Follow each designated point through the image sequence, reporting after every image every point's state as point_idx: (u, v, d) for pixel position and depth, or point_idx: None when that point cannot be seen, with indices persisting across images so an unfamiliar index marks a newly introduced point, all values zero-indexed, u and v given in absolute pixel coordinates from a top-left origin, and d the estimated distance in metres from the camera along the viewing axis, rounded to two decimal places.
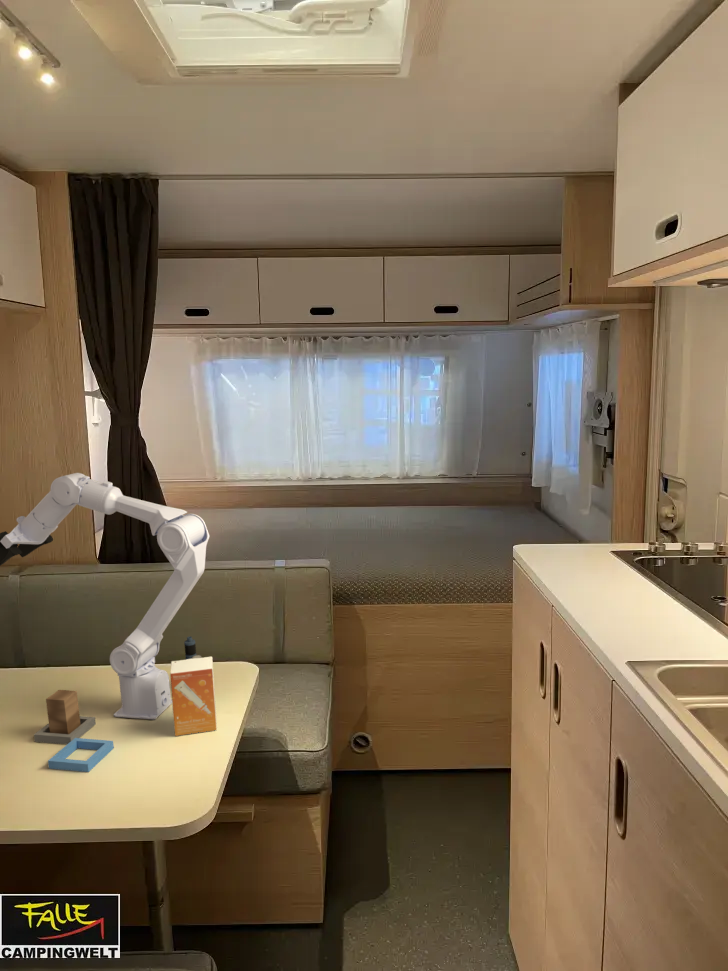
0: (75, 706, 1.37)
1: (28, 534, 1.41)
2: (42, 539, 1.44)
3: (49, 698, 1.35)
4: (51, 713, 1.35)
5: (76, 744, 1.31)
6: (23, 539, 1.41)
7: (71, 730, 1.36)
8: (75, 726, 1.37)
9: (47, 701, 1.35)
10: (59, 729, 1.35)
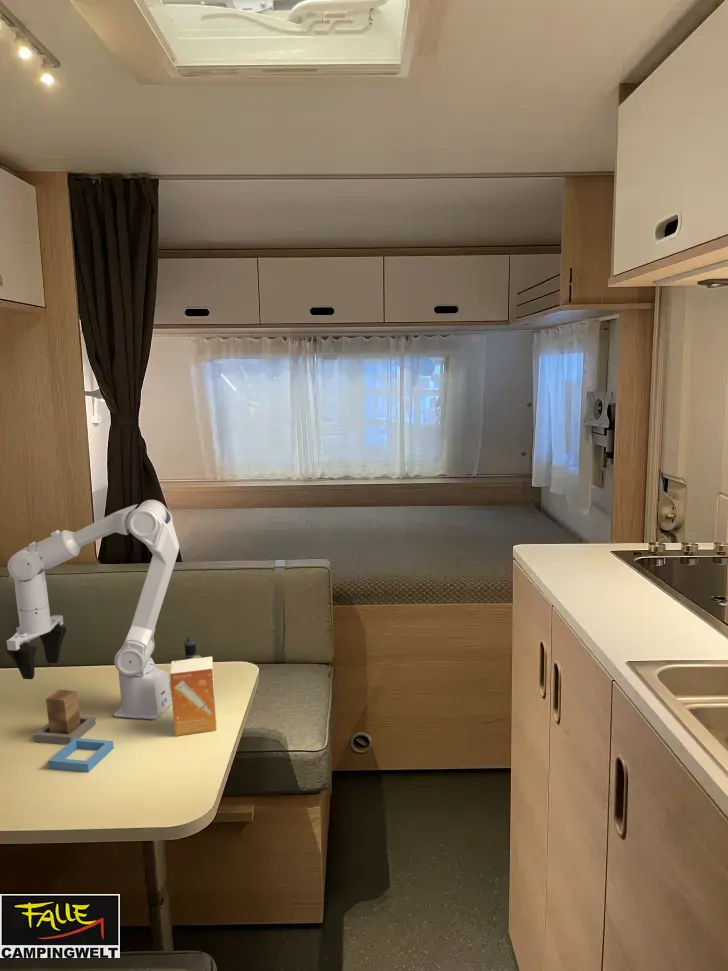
0: (75, 706, 1.37)
1: (29, 629, 1.38)
2: (46, 626, 1.40)
3: (49, 698, 1.35)
4: (51, 713, 1.35)
5: (76, 744, 1.31)
6: None
7: (71, 730, 1.36)
8: (75, 726, 1.37)
9: (47, 701, 1.35)
10: (59, 729, 1.35)
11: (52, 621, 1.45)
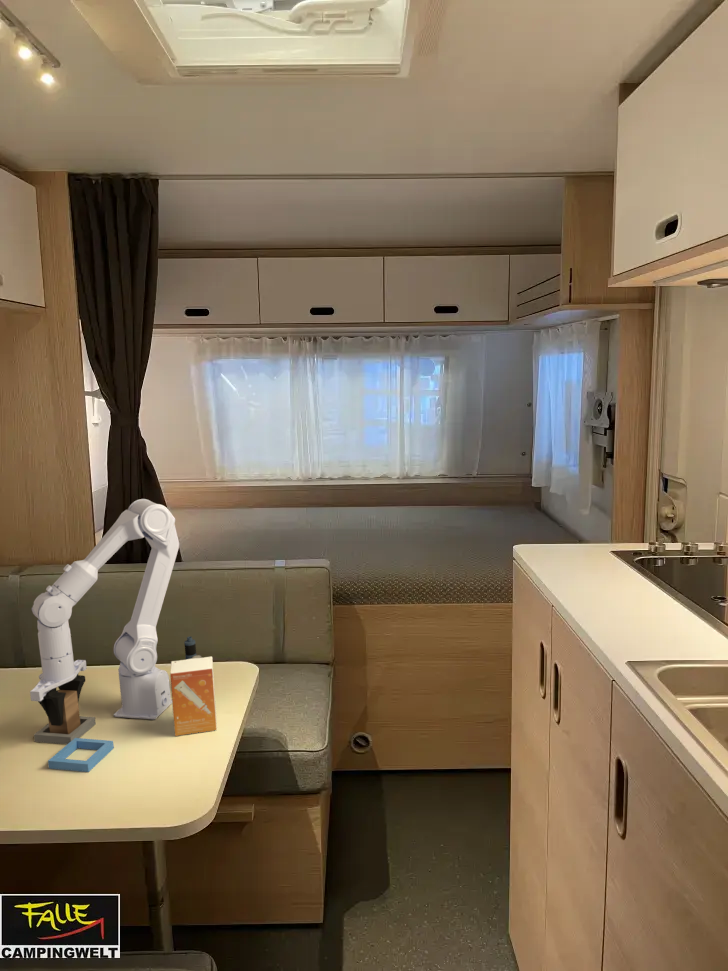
0: (75, 706, 1.37)
1: (52, 678, 1.33)
2: (70, 673, 1.34)
3: None
4: None
5: (76, 744, 1.31)
6: (52, 685, 1.32)
7: (71, 730, 1.36)
8: (75, 726, 1.37)
9: None
10: (59, 729, 1.35)
11: (75, 667, 1.40)
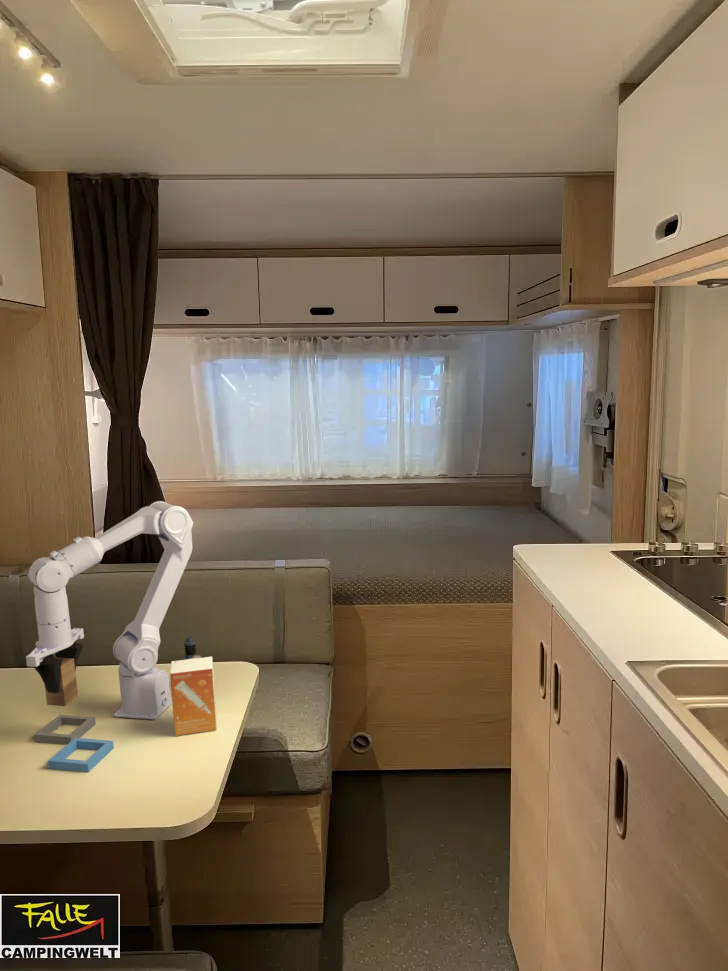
0: (72, 674, 1.36)
1: (49, 644, 1.31)
2: (67, 640, 1.33)
3: None
4: None
5: (76, 744, 1.31)
6: (48, 651, 1.30)
7: (68, 698, 1.34)
8: (72, 694, 1.35)
9: None
10: (56, 697, 1.34)
11: (72, 635, 1.38)
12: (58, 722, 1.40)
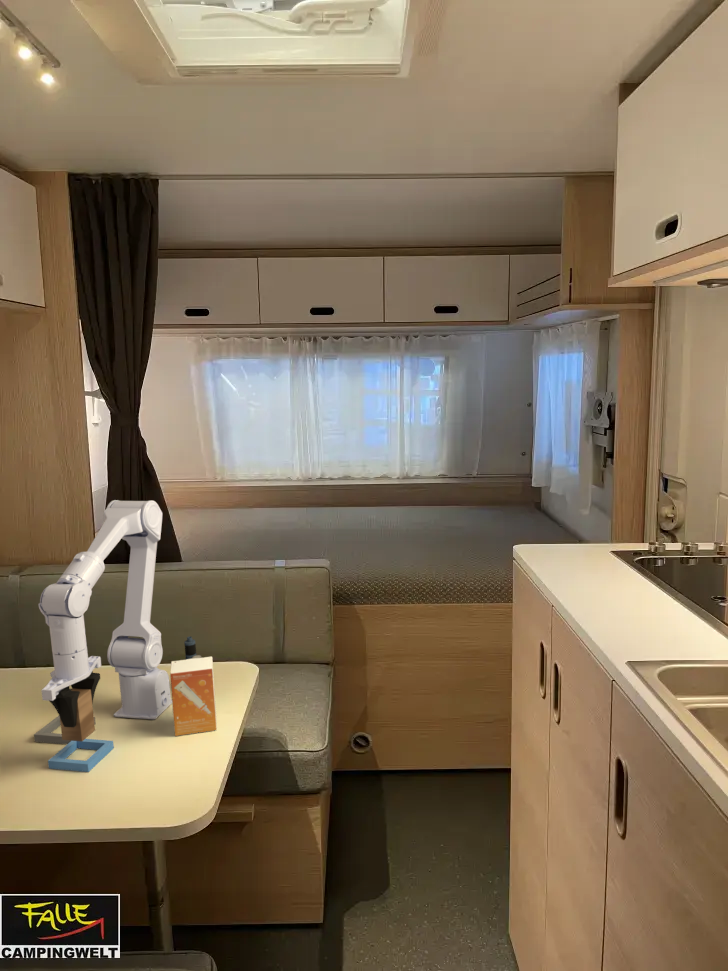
0: (89, 706, 1.27)
1: (65, 675, 1.22)
2: (84, 670, 1.24)
3: None
4: None
5: (76, 744, 1.31)
6: (65, 683, 1.22)
7: (85, 732, 1.26)
8: (88, 728, 1.27)
9: None
10: (72, 731, 1.25)
11: (89, 664, 1.29)
12: (58, 722, 1.40)
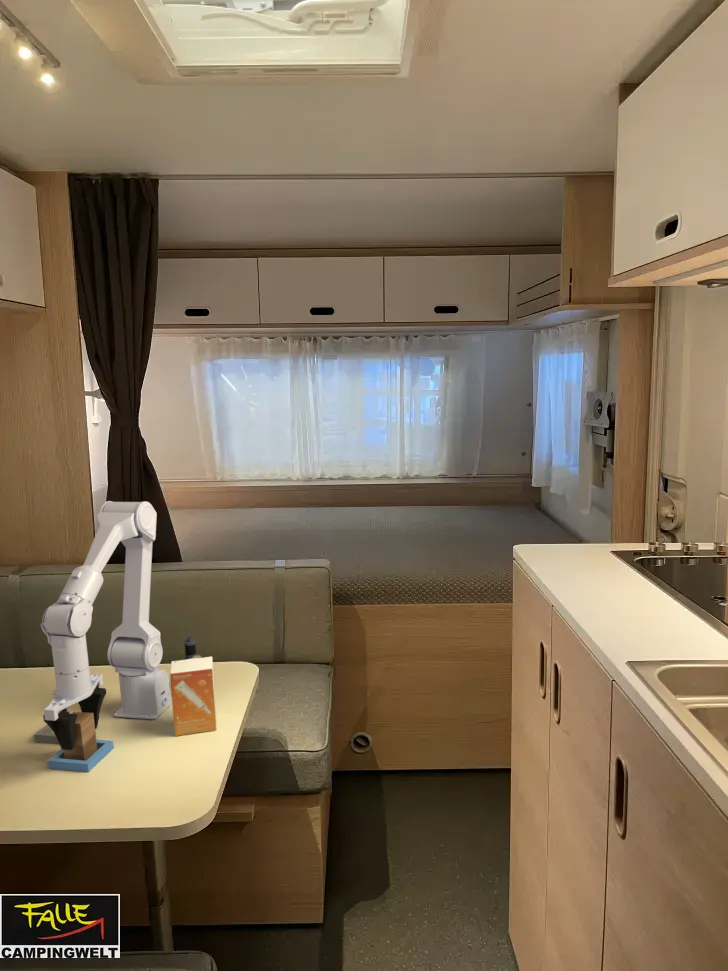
0: (92, 730, 1.28)
1: (68, 694, 1.23)
2: (86, 690, 1.25)
3: None
4: None
5: None
6: None
7: (87, 755, 1.26)
8: (91, 751, 1.28)
9: None
10: (75, 755, 1.26)
11: (91, 682, 1.30)
12: None
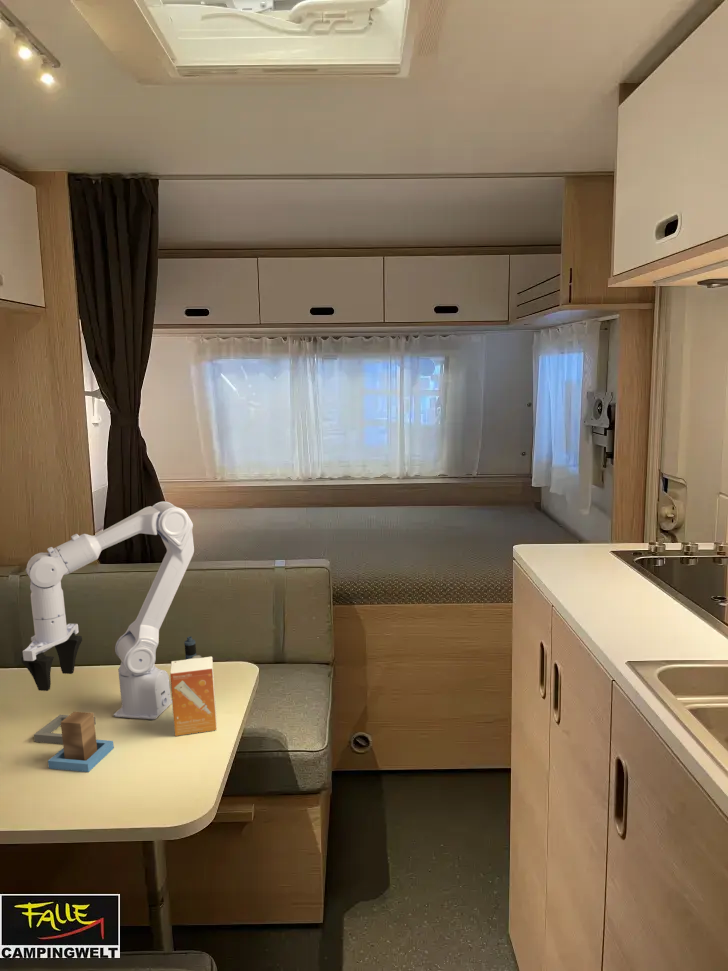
0: (92, 729, 1.28)
1: (45, 639, 1.32)
2: (63, 635, 1.34)
3: (64, 721, 1.25)
4: (66, 737, 1.25)
5: None
6: None
7: (88, 755, 1.26)
8: (91, 751, 1.28)
9: (61, 724, 1.25)
10: (75, 755, 1.26)
11: (67, 630, 1.39)
12: (58, 722, 1.40)
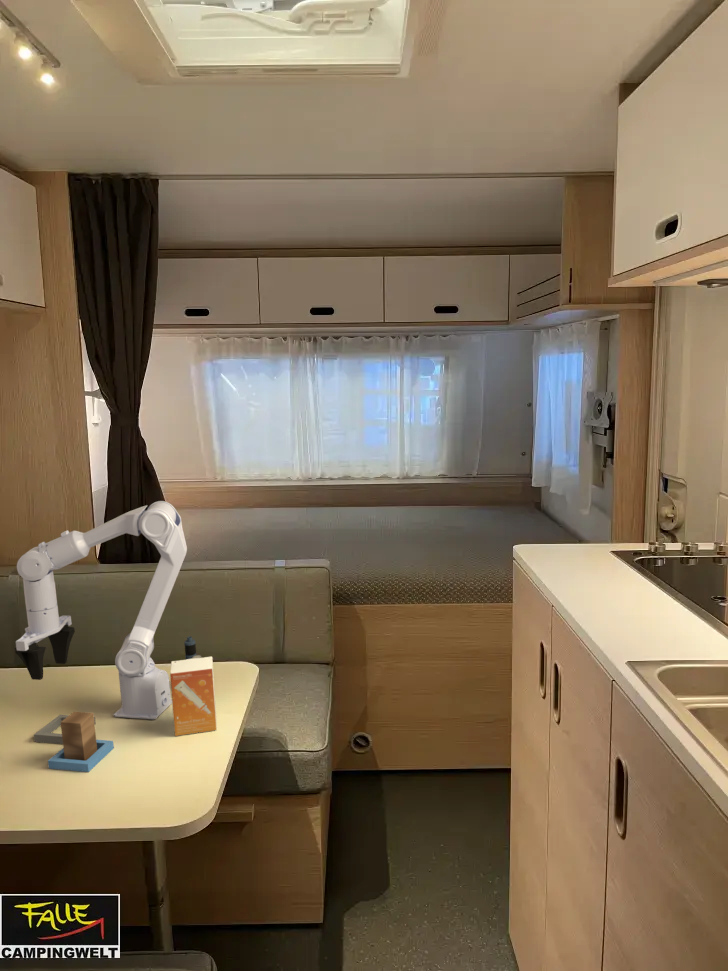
0: (92, 729, 1.28)
1: (38, 630, 1.38)
2: (55, 626, 1.39)
3: (64, 721, 1.25)
4: (66, 737, 1.25)
5: None
6: None
7: (88, 755, 1.26)
8: (91, 751, 1.28)
9: (61, 724, 1.25)
10: (75, 755, 1.26)
11: (60, 621, 1.45)
12: (58, 722, 1.40)
